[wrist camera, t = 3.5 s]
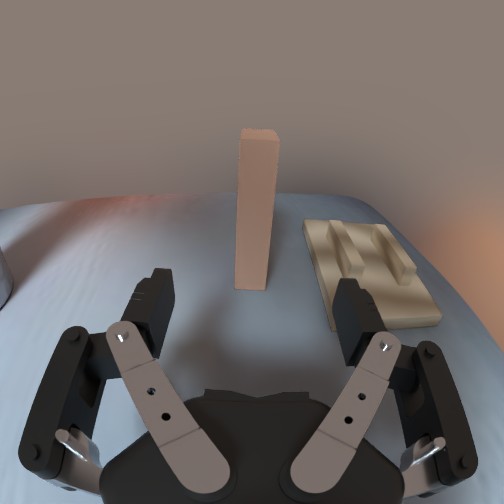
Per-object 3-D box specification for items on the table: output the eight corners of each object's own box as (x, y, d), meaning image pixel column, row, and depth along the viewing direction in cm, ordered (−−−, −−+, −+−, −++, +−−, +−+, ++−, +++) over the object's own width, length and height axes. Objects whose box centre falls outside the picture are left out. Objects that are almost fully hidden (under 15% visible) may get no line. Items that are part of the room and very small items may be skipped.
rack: (436, 325, 20) (452, 297, 18) (331, 331, 20) (342, 298, 18) (378, 233, 34) (384, 210, 32) (302, 228, 33) (306, 203, 32)
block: (265, 290, 24) (279, 141, 17) (234, 288, 24) (240, 138, 17) (263, 257, 28) (274, 130, 21) (237, 255, 28) (242, 128, 21)
